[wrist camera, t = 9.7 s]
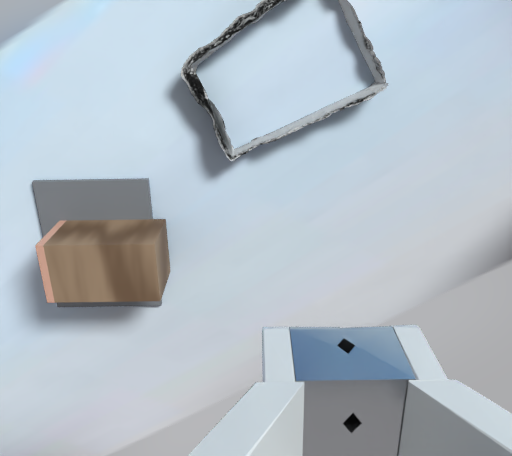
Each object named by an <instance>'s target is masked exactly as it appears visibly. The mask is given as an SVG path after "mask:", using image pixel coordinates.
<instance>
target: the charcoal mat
mask: <svg viewBox="0 0 512 456" xmlns="http://www.w3.org/2000/svg"><path fill="white" fill-rule="evenodd" d="M32 184H33V189H34V194H35V199H36V204H37V209H38V214H39V219H40V224H41V229H42V233H43V237H44V236H45V235H46V234H47V233H48V232H49V231H50V230H51V229H52V228H53V227H54V226H55V225H56V224H57V223H58V222H59V221H65V220H144V219H153V216H152V206H151V197H150V188H149V179H92V180H34V181H33V182H32ZM161 304H162V300H161V301H140V302H58V303H57V307H95V306H161Z"/></svg>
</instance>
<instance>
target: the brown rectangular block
mask: <svg viewBox="0 0 512 456" xmlns="http://www.w3.org/2000/svg"><path fill="white" fill-rule="evenodd" d="M36 251H37V256H38V261H39V266H40V270H41V275H42V280H43V285H44V290H45V294H46V299H47V303H58V302H140V301H161V298H162V295H163V292H164V289H165V286H166V283H167V280H168V277H169V274H170V262H169V251H168V240H167V229H166V219H144V220H65V221H59V222H58V223H57V224H56V225H55V226H54V227H53V228H52V229H51V230H50V231H49V232H48V233H47V234H46V235H45V236H44V237H43V238H42V239H41V240H40V241H39V242H38V243H37V244H36Z"/></svg>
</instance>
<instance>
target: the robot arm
mask: <svg viewBox="0 0 512 456" xmlns="http://www.w3.org/2000/svg"><path fill="white" fill-rule="evenodd" d="M262 374H263V382H256V383H255V384H254V385H253V386H252V387H251V388H250V389H249V390H248V391H247V392H246V393H245V394H244V396H243V397H242V398H241V399H240V400H239V401H238V402H237V403H236V404H235V405H234V406H233V407H232V408H231V410H230V411H229V412H228V413H227V414H226V415H225V416H224V417H223V418H222V419H221V421H219V422H218V423H217V425H216V426H215V427H214V428H213V429H212V430H211V431H210V432H209V433H208V434H207V435H206V436H205V437H204V439H203V440H202V441H201V442H200V443H199V444H198V445H197V446H196V447H195V448H194V449H193V450H192V451H191V453H190V454H189V455H188V456H512V413H510V412H508V411H507V410H505V409H504V408H502V407H500V406H499V405H497V404H495V403H494V402H492V401H490V400H489V399H487V398H486V397H484V396H482V395H481V394H479V393H478V392H476V391H474V390H473V389H471V388H469V387H468V386H466V385H465V384H463V383H461V382H460V381H458V380H449V379H448V378H447V376H446V374H445V372H444V370H443V369H442V367H441V365H440V363H439V361H438V359H437V358H436V356H435V354H434V352H433V350H432V349H431V347H430V345H429V343H428V341H427V340H426V338H425V336H424V334H423V332H422V330H421V329H420V327H419V326H417V325H396V326H385V327H384V326H383V327H350V328H340V327H289V328H288V327H263V329H262Z"/></svg>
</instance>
